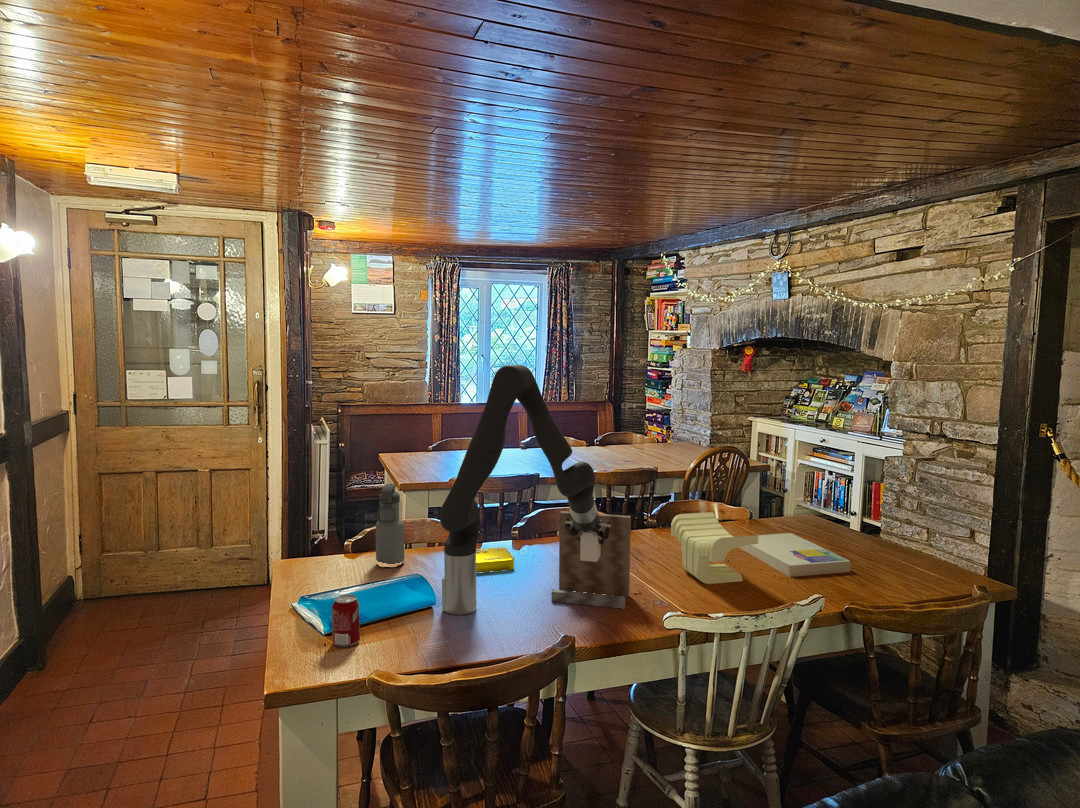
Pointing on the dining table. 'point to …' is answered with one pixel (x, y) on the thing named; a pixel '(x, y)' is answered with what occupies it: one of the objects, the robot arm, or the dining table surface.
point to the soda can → (345, 620)
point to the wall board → (595, 566)
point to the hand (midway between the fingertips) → (591, 541)
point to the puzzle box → (796, 555)
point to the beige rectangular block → (589, 547)
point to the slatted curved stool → (707, 546)
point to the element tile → (493, 560)
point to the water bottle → (389, 527)
